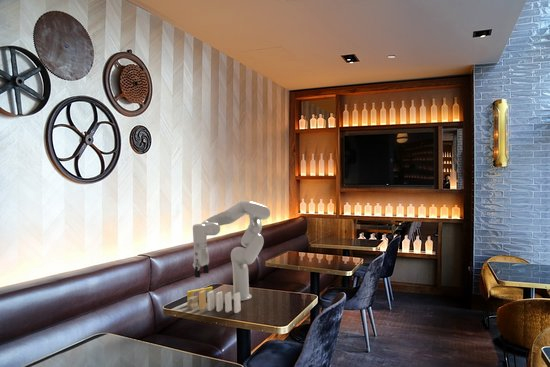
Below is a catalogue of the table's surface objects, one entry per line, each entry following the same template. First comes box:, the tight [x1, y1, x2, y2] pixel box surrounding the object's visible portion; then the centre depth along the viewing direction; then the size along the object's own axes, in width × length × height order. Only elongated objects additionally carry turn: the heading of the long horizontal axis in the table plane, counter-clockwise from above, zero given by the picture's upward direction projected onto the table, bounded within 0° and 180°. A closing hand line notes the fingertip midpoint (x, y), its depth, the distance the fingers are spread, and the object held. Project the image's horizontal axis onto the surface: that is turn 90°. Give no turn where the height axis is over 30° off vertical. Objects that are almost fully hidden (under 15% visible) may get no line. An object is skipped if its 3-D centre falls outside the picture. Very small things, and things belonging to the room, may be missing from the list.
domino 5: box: [233, 292, 242, 314], centre depth 219 cm, size 2×5×10 cm, turn 161°
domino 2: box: [206, 290, 215, 312], centre depth 225 cm, size 2×5×10 cm, turn 161°
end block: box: [187, 296, 199, 311], centre depth 228 cm, size 3×6×6 cm, turn 161°
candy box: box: [186, 286, 214, 306], centre depth 239 cm, size 16×2×8 cm, turn 126°
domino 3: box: [215, 290, 224, 313], centre depth 223 cm, size 2×5×10 cm, turn 161°
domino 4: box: [224, 291, 233, 313], centre depth 221 cm, size 2×5×10 cm, turn 161°
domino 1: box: [198, 290, 207, 311], centre depth 226 cm, size 2×5×10 cm, turn 161°
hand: (201, 275), depth 227 cm, fingers open, 9 cm apart
